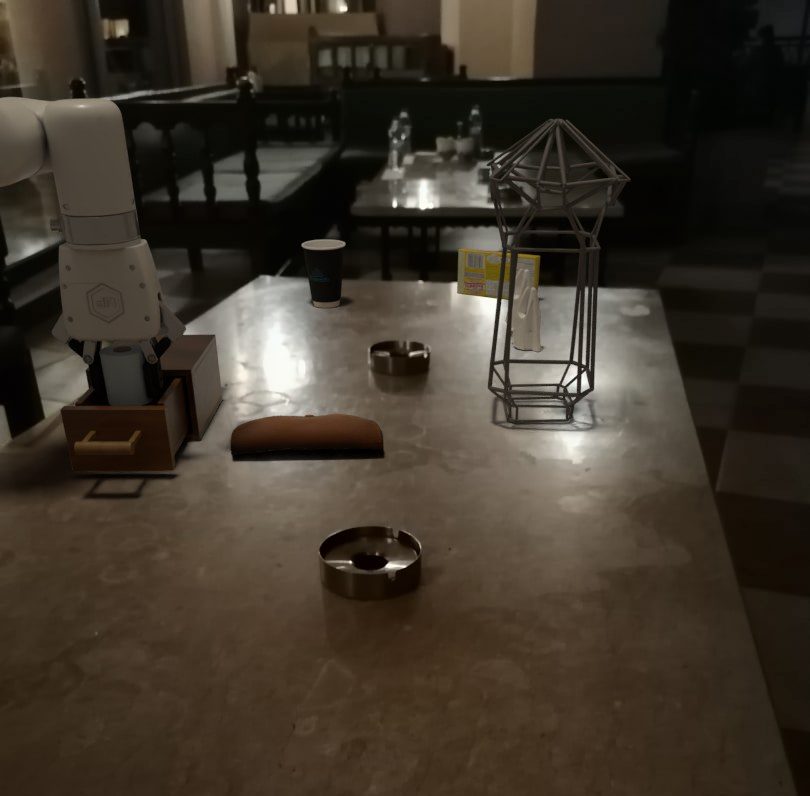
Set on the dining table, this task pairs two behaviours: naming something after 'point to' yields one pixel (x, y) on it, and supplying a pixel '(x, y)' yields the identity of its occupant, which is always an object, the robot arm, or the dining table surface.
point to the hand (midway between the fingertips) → (129, 392)
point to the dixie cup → (324, 271)
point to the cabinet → (192, 377)
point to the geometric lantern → (612, 195)
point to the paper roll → (124, 374)
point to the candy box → (490, 272)
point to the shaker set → (525, 314)
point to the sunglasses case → (306, 434)
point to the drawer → (128, 430)
